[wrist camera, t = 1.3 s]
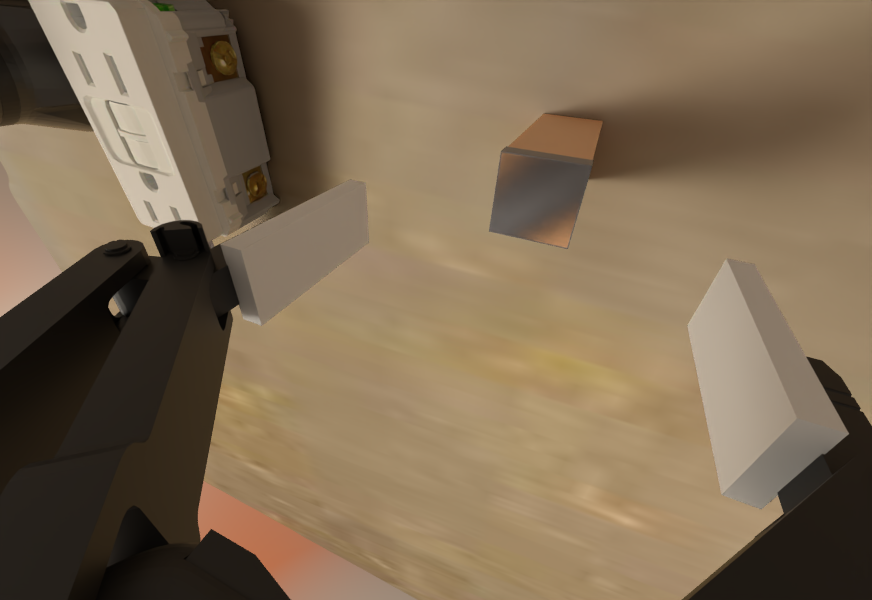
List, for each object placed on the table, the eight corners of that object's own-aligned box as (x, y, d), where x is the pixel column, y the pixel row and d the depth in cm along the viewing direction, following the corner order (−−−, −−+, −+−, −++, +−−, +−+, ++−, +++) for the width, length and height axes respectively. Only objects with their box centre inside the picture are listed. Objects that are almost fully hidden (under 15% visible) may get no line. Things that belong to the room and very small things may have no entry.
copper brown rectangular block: (531, 170, 29) (489, 231, 20) (543, 112, 27) (501, 151, 18) (586, 180, 28) (567, 249, 19) (603, 120, 26) (592, 165, 16)
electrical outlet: (229, -94, 27) (81, -126, 20) (300, 247, 45) (236, 294, 38) (114, -96, 30) (-50, -125, 23) (224, 224, 48) (152, 264, 41)
